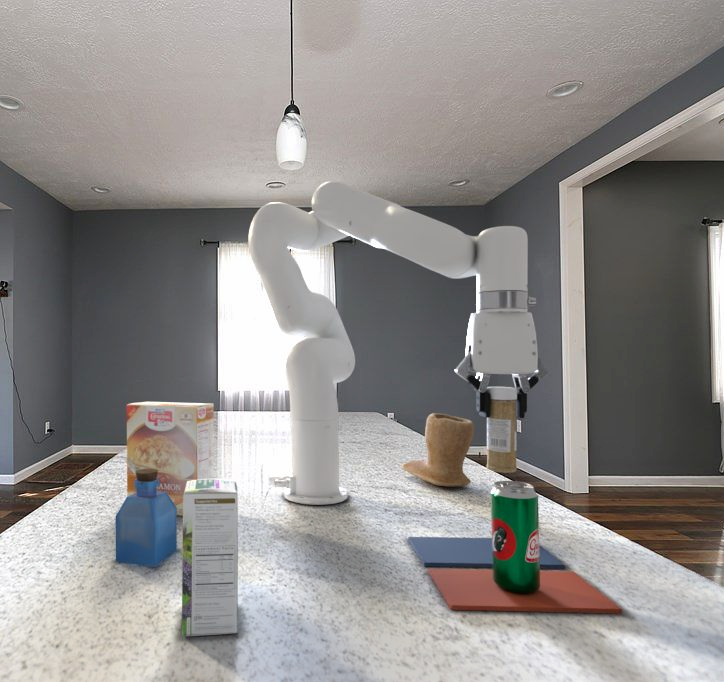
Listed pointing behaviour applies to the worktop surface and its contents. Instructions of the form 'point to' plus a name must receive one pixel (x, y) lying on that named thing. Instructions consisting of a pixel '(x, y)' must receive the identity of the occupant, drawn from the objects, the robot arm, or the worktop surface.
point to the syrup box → (210, 557)
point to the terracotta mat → (552, 596)
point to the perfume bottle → (146, 523)
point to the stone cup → (444, 451)
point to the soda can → (515, 537)
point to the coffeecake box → (170, 445)
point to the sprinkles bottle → (502, 430)
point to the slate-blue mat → (465, 552)
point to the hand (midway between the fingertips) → (501, 415)
